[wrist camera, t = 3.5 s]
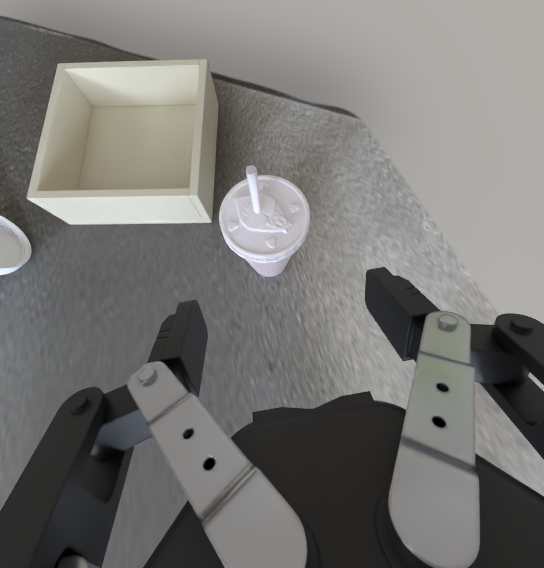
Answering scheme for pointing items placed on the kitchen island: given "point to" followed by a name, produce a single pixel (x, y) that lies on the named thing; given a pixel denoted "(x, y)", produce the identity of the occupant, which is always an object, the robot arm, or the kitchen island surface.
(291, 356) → the kitchen island surface
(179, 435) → the robot arm
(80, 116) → the wooden tray
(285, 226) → the smoothie
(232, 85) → the kitchen island surface
